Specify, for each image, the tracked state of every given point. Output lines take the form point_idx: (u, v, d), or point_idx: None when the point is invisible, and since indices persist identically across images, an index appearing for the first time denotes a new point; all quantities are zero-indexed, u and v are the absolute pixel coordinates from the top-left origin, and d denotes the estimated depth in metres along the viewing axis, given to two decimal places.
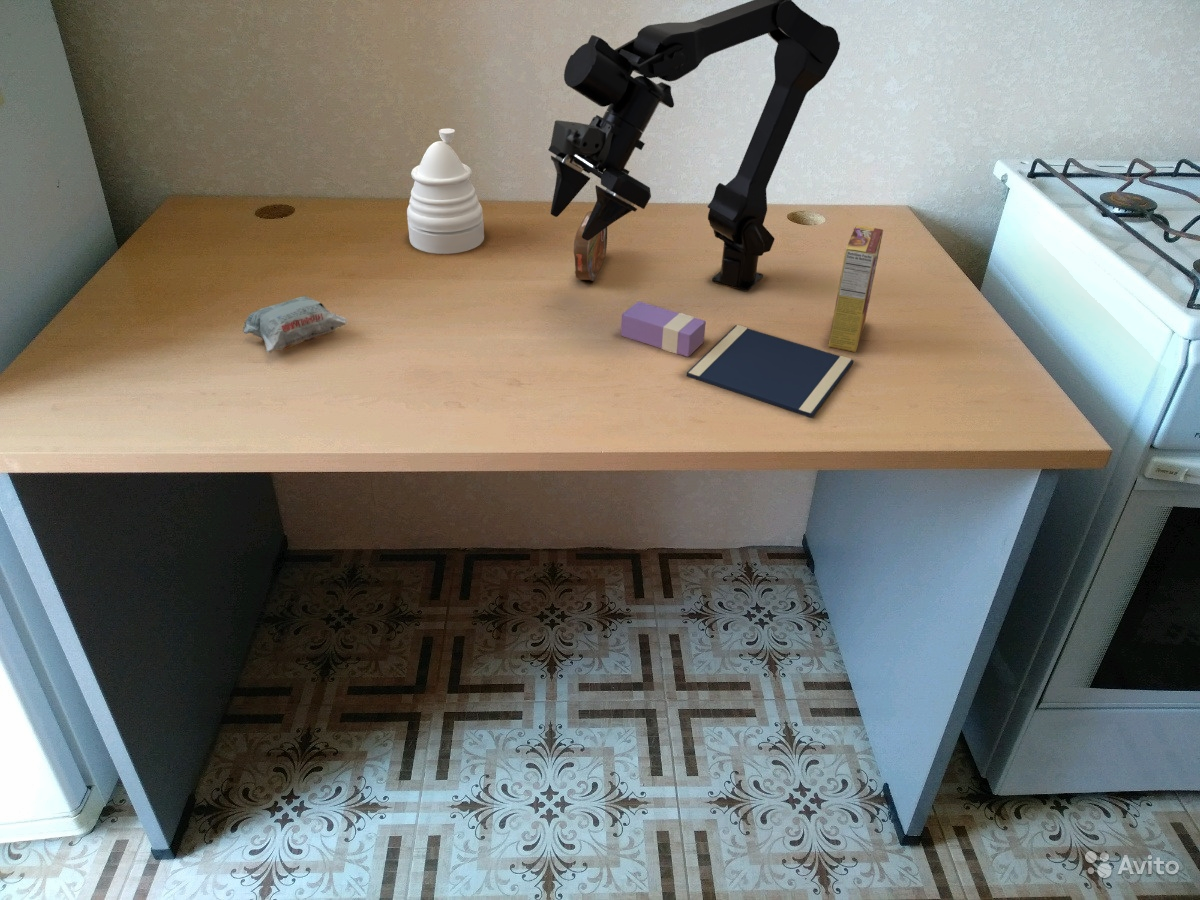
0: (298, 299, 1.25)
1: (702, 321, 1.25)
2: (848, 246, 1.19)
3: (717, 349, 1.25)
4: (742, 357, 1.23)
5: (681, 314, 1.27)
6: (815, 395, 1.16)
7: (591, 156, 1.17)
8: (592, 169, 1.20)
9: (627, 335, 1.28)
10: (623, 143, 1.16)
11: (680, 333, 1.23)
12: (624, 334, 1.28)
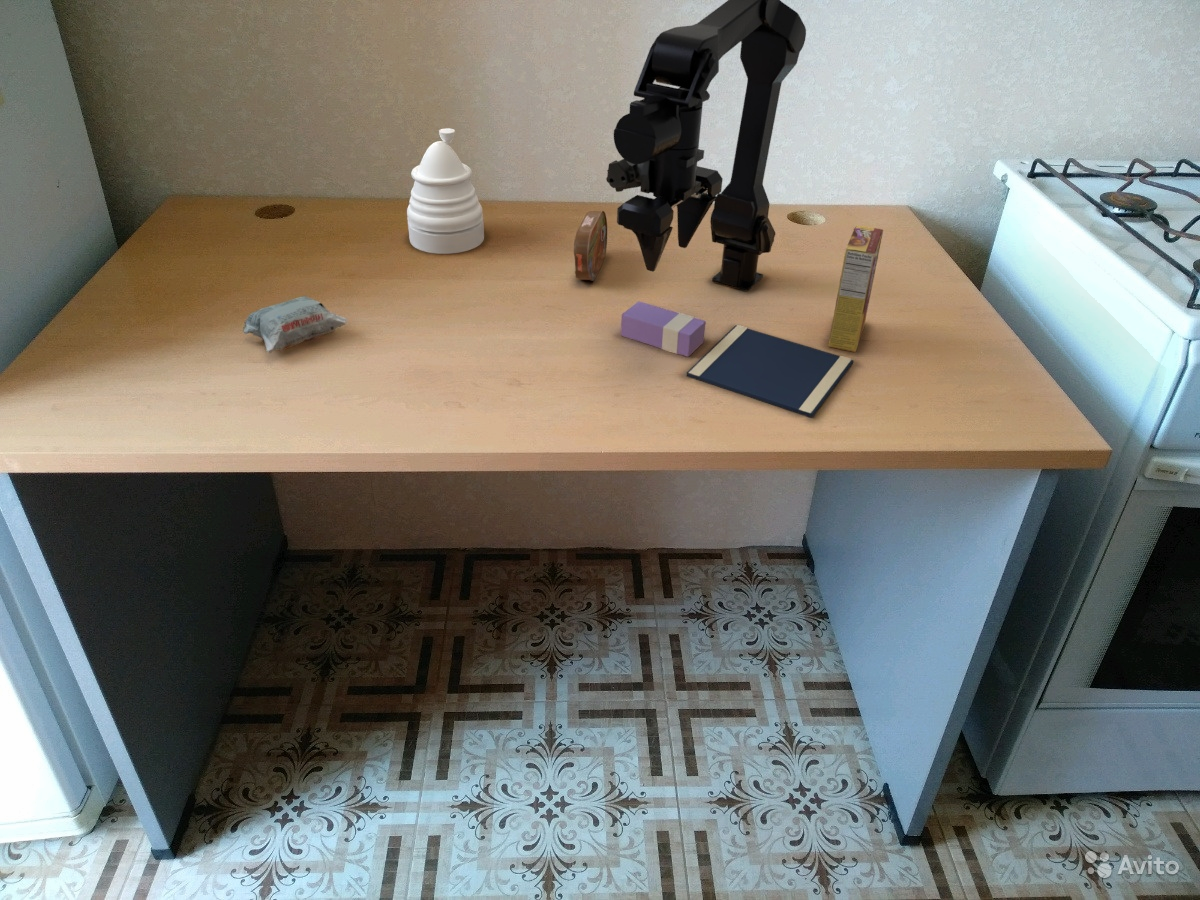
0: (298, 299, 1.25)
1: (702, 321, 1.25)
2: (848, 246, 1.19)
3: (717, 349, 1.25)
4: (742, 357, 1.23)
5: (681, 314, 1.27)
6: (815, 395, 1.16)
7: None
8: None
9: (627, 335, 1.28)
10: (660, 167, 1.11)
11: (680, 333, 1.23)
12: (624, 334, 1.28)
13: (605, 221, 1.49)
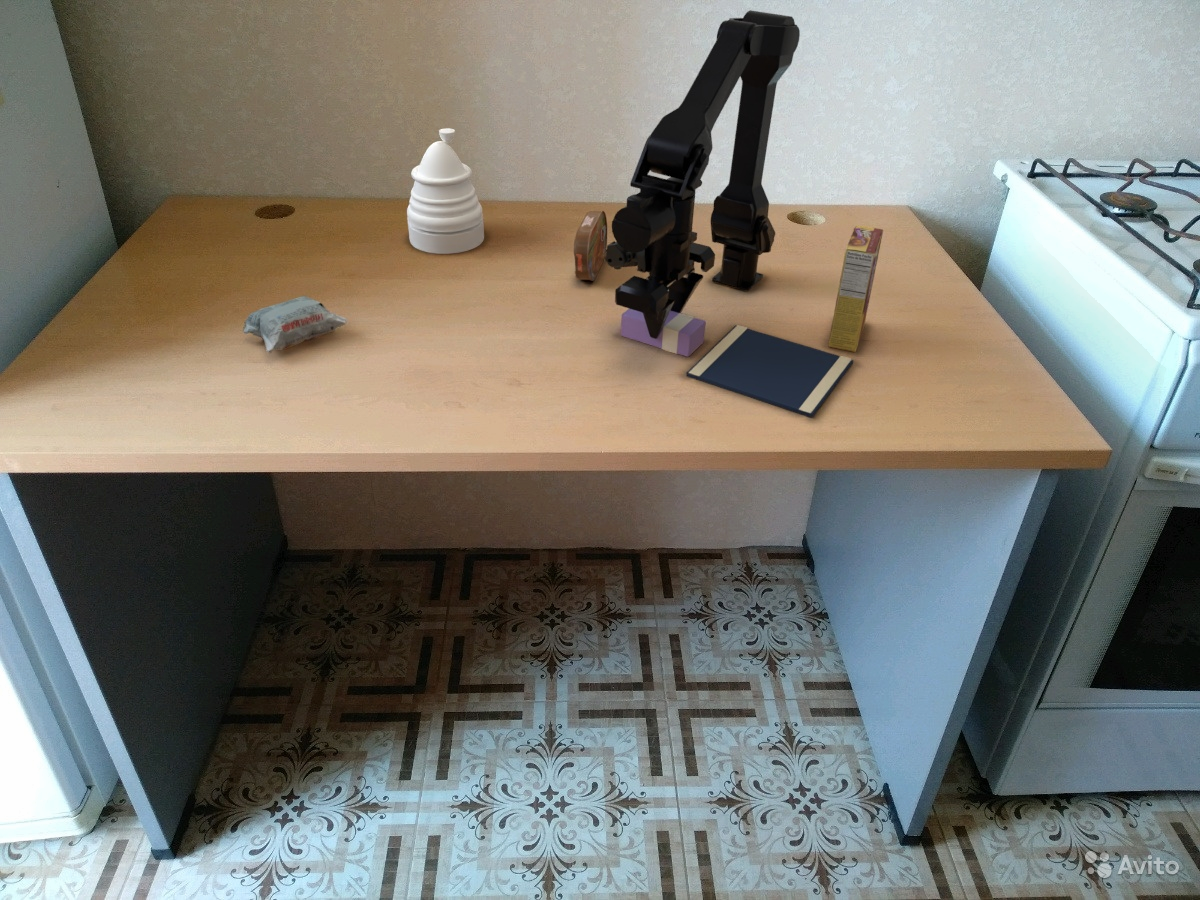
0: (298, 299, 1.25)
1: (702, 321, 1.25)
2: (848, 246, 1.19)
3: (717, 349, 1.25)
4: (742, 357, 1.23)
5: (681, 314, 1.27)
6: (815, 395, 1.16)
7: None
8: None
9: (627, 335, 1.28)
10: (656, 250, 1.18)
11: (680, 333, 1.23)
12: (624, 334, 1.28)
13: (605, 221, 1.49)
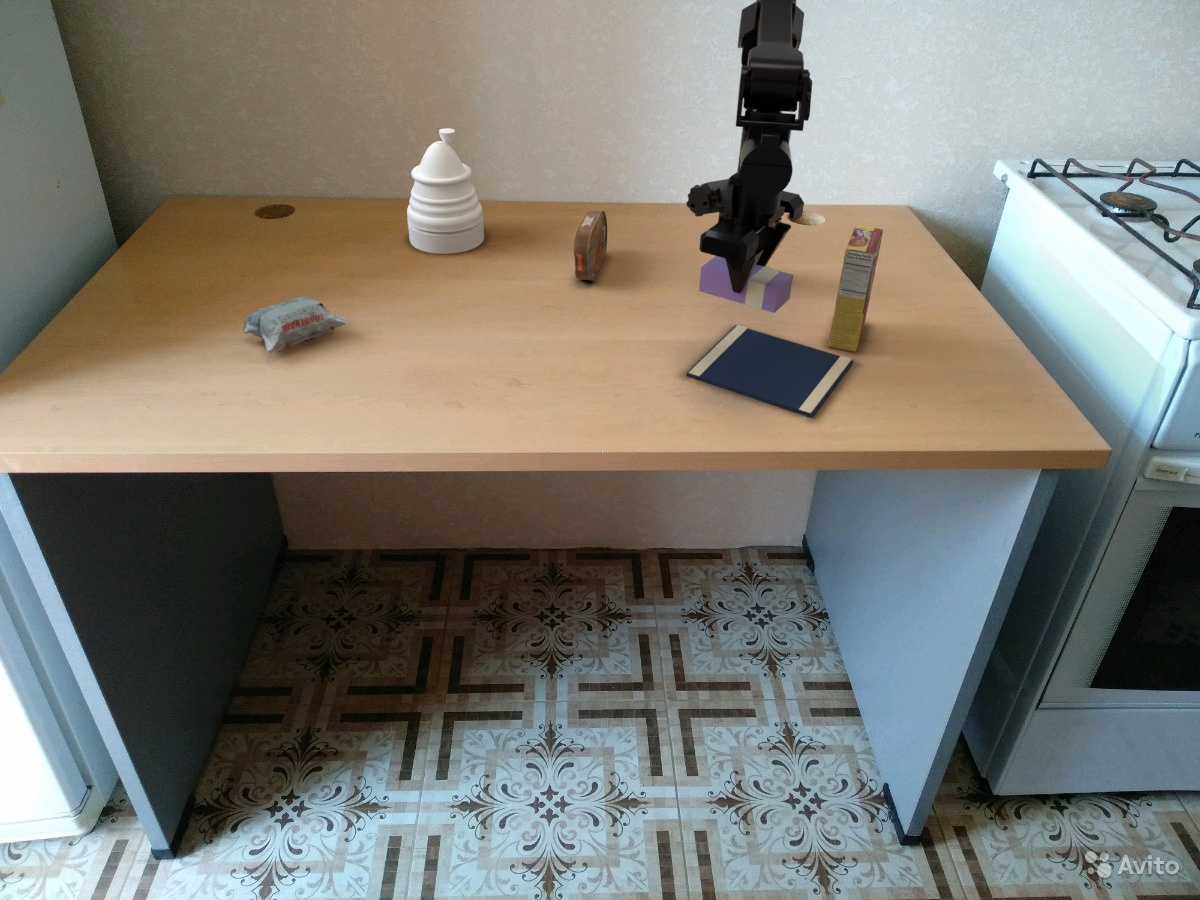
0: (298, 299, 1.25)
1: (790, 275, 1.15)
2: (848, 246, 1.19)
3: (717, 349, 1.25)
4: (742, 357, 1.23)
5: (766, 267, 1.16)
6: (815, 395, 1.16)
7: None
8: None
9: (706, 290, 1.18)
10: (745, 193, 1.07)
11: (767, 286, 1.12)
12: (703, 289, 1.18)
13: (605, 221, 1.49)
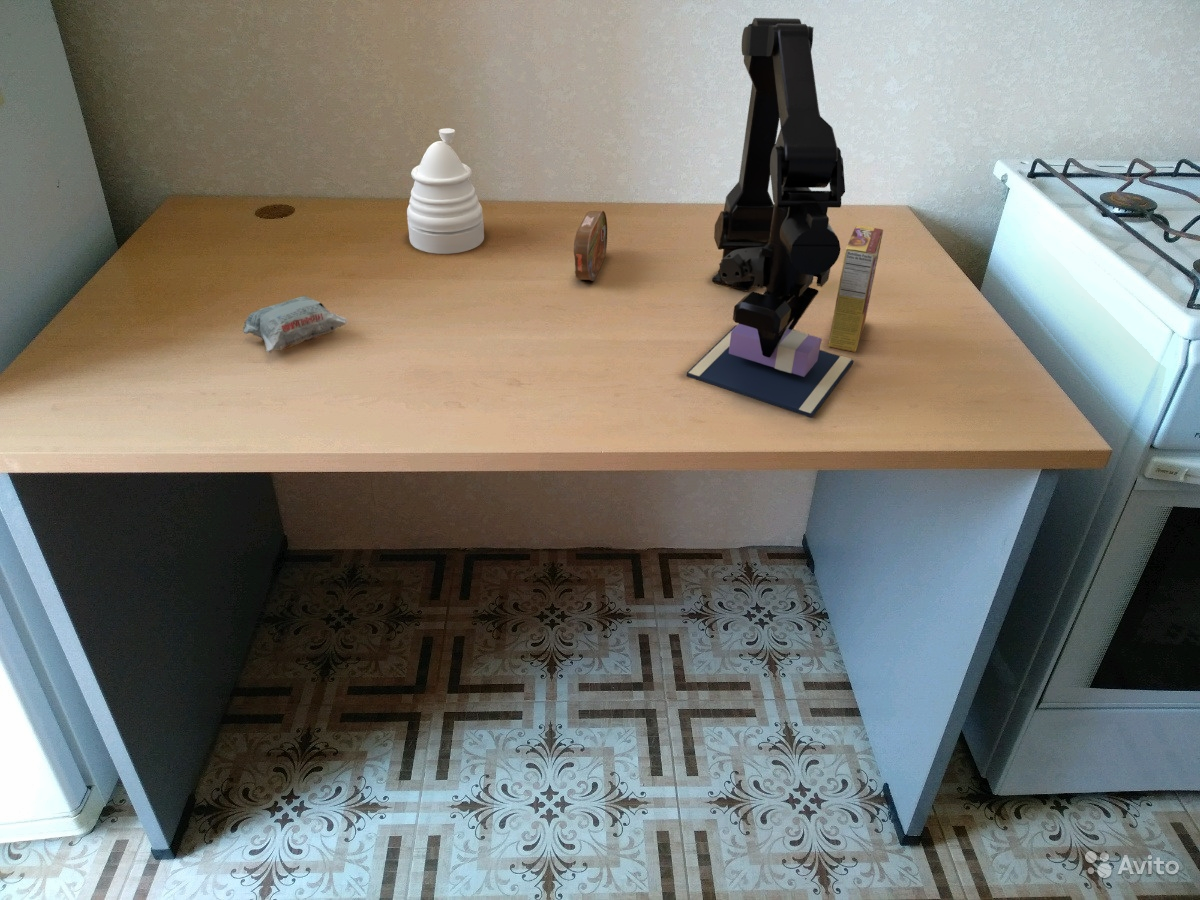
0: (298, 299, 1.25)
1: (818, 339, 1.18)
2: (848, 246, 1.19)
3: (717, 349, 1.25)
4: None
5: (794, 331, 1.20)
6: (815, 395, 1.16)
7: None
8: None
9: (736, 353, 1.21)
10: (776, 264, 1.10)
11: (797, 352, 1.16)
12: (732, 352, 1.21)
13: (605, 221, 1.48)
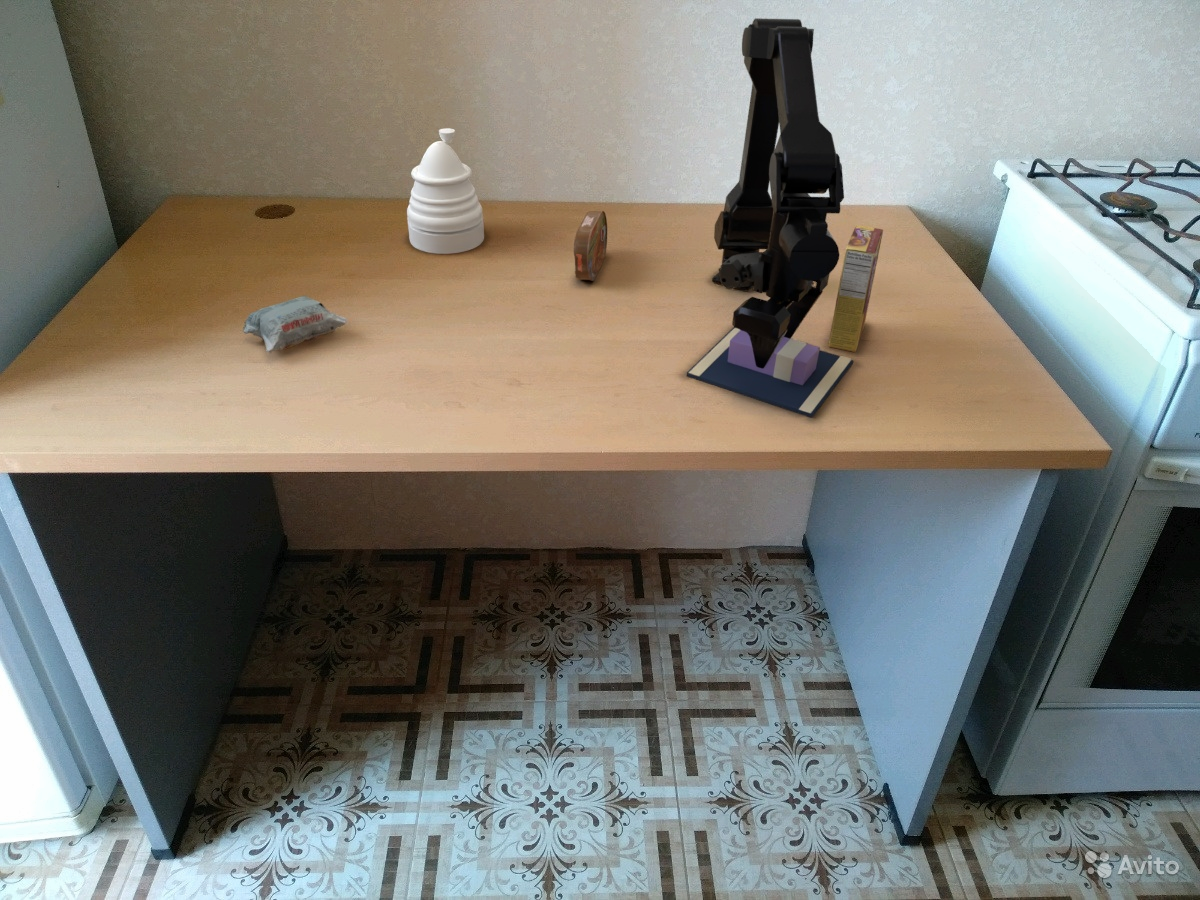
0: (298, 299, 1.25)
1: (816, 347, 1.19)
2: (848, 246, 1.19)
3: (717, 349, 1.25)
4: None
5: (793, 340, 1.20)
6: (815, 395, 1.16)
7: None
8: None
9: (735, 362, 1.21)
10: (776, 270, 1.11)
11: (795, 361, 1.16)
12: (731, 360, 1.22)
13: (605, 221, 1.49)
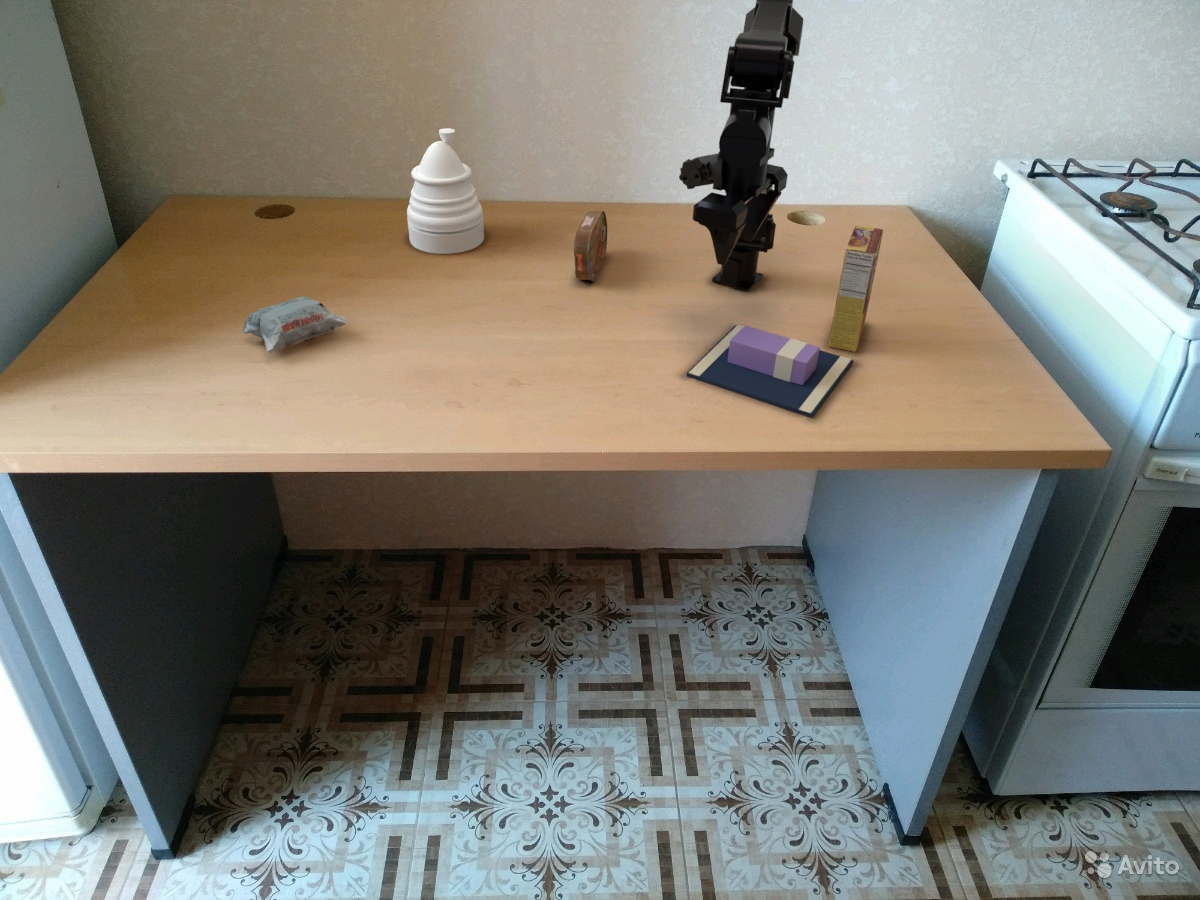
0: (298, 299, 1.25)
1: (816, 347, 1.19)
2: (848, 246, 1.19)
3: (717, 349, 1.25)
4: None
5: (793, 340, 1.20)
6: (815, 395, 1.16)
7: None
8: None
9: (735, 362, 1.21)
10: (734, 166, 1.16)
11: (795, 361, 1.16)
12: (731, 360, 1.22)
13: (605, 221, 1.49)
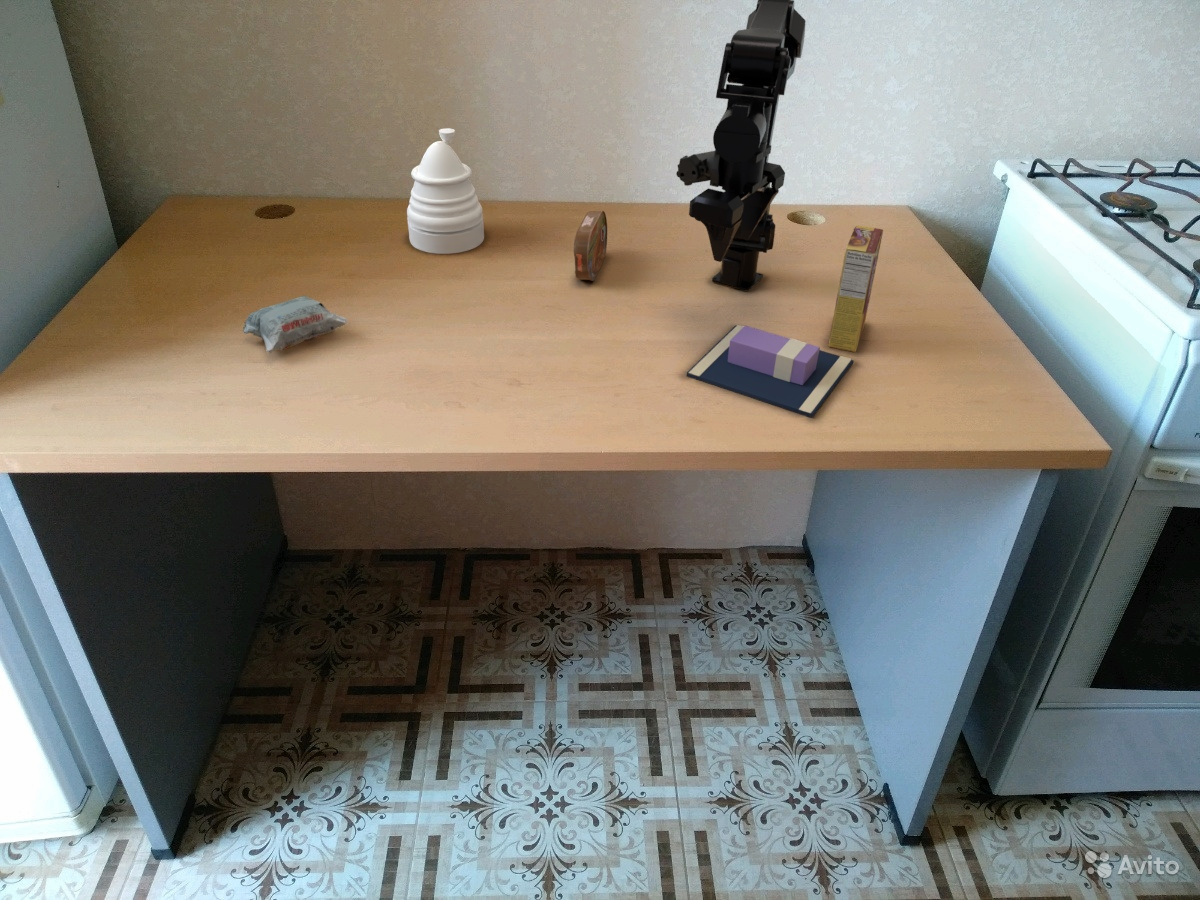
0: (298, 299, 1.25)
1: (816, 347, 1.19)
2: (848, 246, 1.19)
3: (717, 349, 1.25)
4: None
5: (793, 340, 1.20)
6: (815, 395, 1.16)
7: None
8: None
9: (735, 362, 1.21)
10: (730, 162, 1.16)
11: (795, 361, 1.16)
12: (731, 360, 1.22)
13: (605, 221, 1.49)
